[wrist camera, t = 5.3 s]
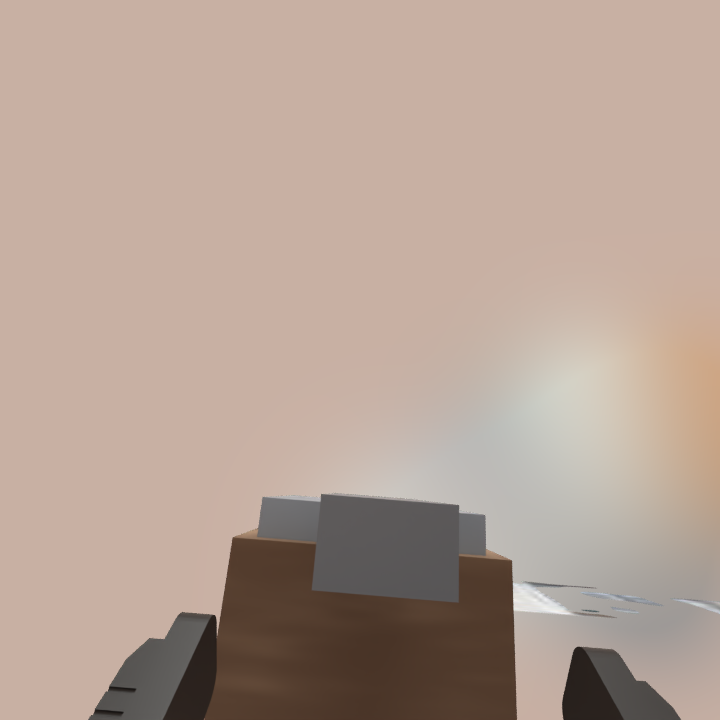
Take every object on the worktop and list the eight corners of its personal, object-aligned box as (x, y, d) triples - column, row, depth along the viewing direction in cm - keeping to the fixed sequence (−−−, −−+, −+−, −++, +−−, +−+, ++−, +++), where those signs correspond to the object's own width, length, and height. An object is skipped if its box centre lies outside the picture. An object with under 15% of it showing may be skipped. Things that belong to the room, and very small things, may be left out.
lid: (290, 521, 33) (294, 489, 34) (440, 533, 33) (441, 500, 34) (166, 578, 11) (184, 483, 12) (607, 615, 11) (598, 516, 12)
